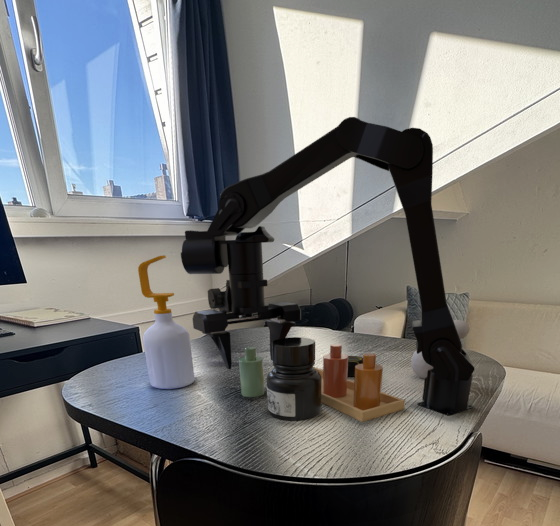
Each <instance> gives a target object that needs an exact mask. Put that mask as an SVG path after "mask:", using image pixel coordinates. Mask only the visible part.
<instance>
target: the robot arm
mask: <svg viewBox="0 0 560 526" xmlns="http://www.w3.org/2000/svg"><path fill="white" fill-rule="evenodd" d="M351 158H355V159H358V160H361V161H362V162H365V163H367V164H370V165H371V166H374V167H377V168H378V169H381V170H384V171H387V172H389V174H390V177H391V180H392V183H393V185H394V188H395V191H396V193H397V196H398V199H399V201H400V204H401V207H402V210H403V213H404V216H405V221H406V227H407V233H408V238H409V244H410V251H411V256H412V261H413V266H414V271H415V278H416V284H417V290H418V296H419V303H420V319H418V320H412V322H411V324H412V331H413V333H414V336H415V338H416V341H415V347H416V350H417V354H419V353H420V352H421V351H422V356H423V359H424V361H425V362H426V363H427V364H429V365H431V366H432V367H433V369H429V370H428V372H427V377H426V378H425V379H424V383H423V390H422V391H423V392H422V398H421V399H422V401H420V402H417V404H416V405H417V406H419V407H421V408H424V409H428V410H430V411H433V412H435V413H437V414H440V415H442V416H443V415H444V416H446V417H451V416H454V415H457V414H459V413H462V412H465V411H468V410H471V409H473V408H474V406H473V405H471V404H469V399H470V395H471V388H472V382H473V376H474V374H473V373H474V372H475V370H476V368H475V366H474V364H473V363H472V360H471V359H470V356H469V355H468V353H467V352H466V351H465V350H464V348H463V344H462V341H461V339H460V338H459V335H458V332H457V330H456V327H455V324H454V321H453V316H452V314H451V311H450V308H449V305H448V302H447V298H446V297H447V296H446V290H445V284H444V278H443V271H442V270H443V269H442V264H441V258H440V251H439V245H438V239H437V238H438V237H437V232H436V231H437V230H436V225H435V224H436V223H435V219H434V218H435V217H434V211H433V206H432V198H433V173H434V172H433V169H434V167H433V165H434V144H433V142H432V138H431V136H430V135H429V132H427V131H425V130H423V129H422V128H419V127H410V128H404V129H403V130H402V131H401V130H398V129H395V128H392V127H390V126H386V125H382V124H377V123H371V122H368V121H364V120H362V119H360V118H358V117H356V116H349V117H346V118H344V119H343V120H342V121H341V122H340V123H339V124H338V125H337V126H336V127H334V128H333V129H331V130H329V131H327V132H326V133H325V134H323V135H322V136H321V137H319V138H317V139H315V141H313V142H312V143H310V144H308V145H307V146H305V147H303V148H302V149H301V150H299V151H298V152H296V153H295V154H293V155H291V156H290V157H288V158H287V159H285V160H284V161H283V162H281V163H280V164H278V165H276V166H275V167H273V168H272V169H269V171H266V172H264V173H262V174H261V173H260V174H258V175H254V176H249V177H247V178H244V179H242V180H239V181H237V182H234V183H231V184H229V185H228V186H225V188H224V189H223V190H222V191H221V192H220V194H219V200H218V208H217V211H216V212H215V214H214V216H213V218H212V221H211V223H210V225H208V229H207V230H201V231H200V230H192V229H191V230H185V231H184V237H185V238H184V240H183V241H182V245H181V252H180V259H181V263H182V267H183V269H184V270H185V272H186V273H187V274H189V275H217V274H218V275H220V274H222V273H224V270H225V268H227V267H228V279H226V281H225V286H226V287H225V290H223V291H222V290H221V289H220V288H219V287H218V288H216V287H215V288H209V289H208V290H207V302H208V305H209V306H208V307H209V308H210V309H208V310H199V311H195V312H194V314H193V316H192V328H193V329H194V330H197V331H199V332H201V333H202V334H203V335H206V336H209V337H210V338H211V340H212V342H213V343H214V344H215V346H216V348H217V350H218V352H219V355H220V356H221V359H222V361H223V363H224V365H225V368H226V369H227V370H230V371H231V370H232V363H233V362H232V344H231V343H232V342H231V332H230V331H227V330H226V329H227V327H228V326H229V325H235V324H242V323H250V322H257V321H265V320H266V321H265V322H266V324H267V328H268V329H269V355H270V360H271V362H273V360H272V341H274V340H277V339H280V338H287V336H288V334H289V332H290V330H291V329H292V327H296V322H298V321H302V310H301V308H300V306H299V304H298V303H293V302H287V301H280V302H279V301H278V302H271V303H268V304H265V288H264V287H268V279H264V265H263V243H274V242H275V237H274V236H273V235H271V234H270V233H269V232H268V231H267V229H266V227H265V226H262V225H260V224H261V223H262V222H263V221H264V220H266V218H267V217H269V216H270V215H271V214H272V213H273V212H274V211H275V210H276V208H277V207H278V206H279V205H280V203H282V202H283V201H284V200H285V199H286V198H288V197H289V196H291V195H293V194H294V193H296V192H298V191H299V190H301V189H303V188H304V187H306V186H307V185H309V184H310V183H313V182H314V181H316V180H317V179H319V178H320V177H322V176H323V175H325V174H327V173H328V172H330V171H332V170H334V169H335V168H337V167H338V166H340V165H342V164H343V163H345V162H346V161H348V160H350V159H351ZM253 228H256V230H254V231H244V230H245V229H253ZM231 236H235V239H227V240H226V238H227V237H231ZM217 309H218V310H217Z"/></svg>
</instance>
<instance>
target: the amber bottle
mask: <svg viewBox="0 0 560 526" xmlns="http://www.w3.org/2000/svg"><path fill="white" fill-rule="evenodd" d="M362 355H363V356H362V357H363V364H358V365H356V366H355V376H354V380H353V381H354V400H353V406H354V407H356V408H358V409H360V410H363V411H364V410H367V409H371V408H374V407H378V406H380V400H381V392H382V385H383V373H384V367H383V365H381V364H378V363H377V354H376V353H373V352H367V353H366V352H365V353H363V354H362Z"/></svg>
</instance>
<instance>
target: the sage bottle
mask: <svg viewBox="0 0 560 526" xmlns="http://www.w3.org/2000/svg"><path fill="white" fill-rule="evenodd" d="M244 355H245V356H243V357H240V358H239V359H238V367H239V368H238V369H239V380H240V381H239V382H240V393H241V396H243V397H244V398H245V397H246V398H258V397H262V396H263V395H264V394H265V373H264V358H263V357H261V356H257V348H256V347H255V346H247V347H245V348H244Z"/></svg>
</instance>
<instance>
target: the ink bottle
mask: <svg viewBox="0 0 560 526" xmlns="http://www.w3.org/2000/svg"><path fill="white" fill-rule="evenodd" d="M272 360H273V361H272ZM272 360H271V361H272V366H273V368H272V369H271V371H270V372H268V374H267V376H266V399H267V400H266V401H267V413H268V415H269V416H270V417H272V418H273V419H276V420H280V421H285V422H302V421H307V420H312V419H314V418H317V417H318V416H320V415H321V413H322V403H321V382H322V379H321V375H320V373H319V372H318V371H317V370H316V369H315V368H314V367H315V365H316V340H315V339H312V338H310V337H301V336H299V337H298V336H294V337H293V336H291V337H290V336H289V337H286V338H280V339H277V340H274V341H272Z"/></svg>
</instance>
